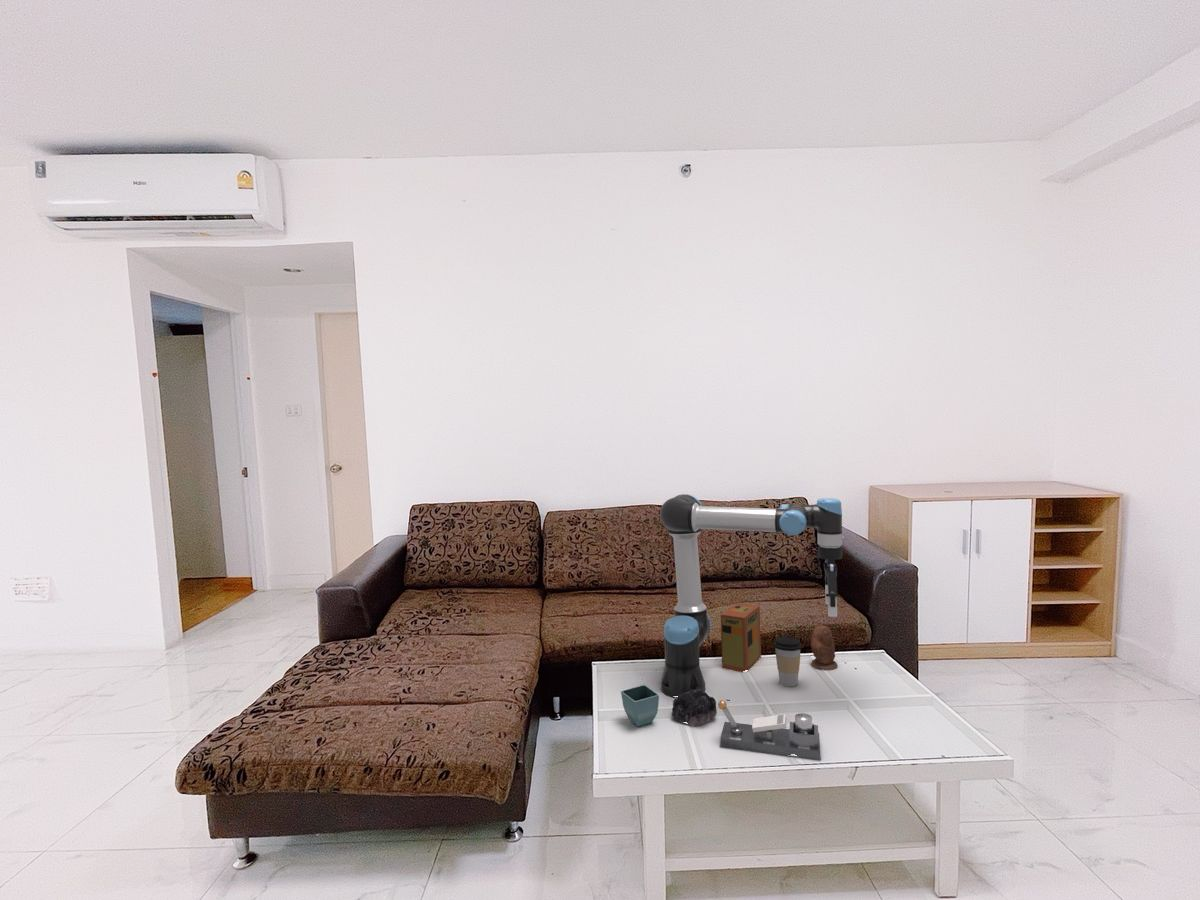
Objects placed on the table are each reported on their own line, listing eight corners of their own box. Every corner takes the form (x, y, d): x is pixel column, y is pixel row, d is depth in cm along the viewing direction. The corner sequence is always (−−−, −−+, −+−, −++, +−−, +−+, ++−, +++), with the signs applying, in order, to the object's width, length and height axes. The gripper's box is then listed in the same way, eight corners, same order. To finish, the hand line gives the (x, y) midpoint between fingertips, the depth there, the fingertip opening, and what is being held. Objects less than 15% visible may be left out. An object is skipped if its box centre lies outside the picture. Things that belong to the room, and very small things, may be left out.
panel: (720, 746, 166) (719, 727, 166) (724, 729, 176) (724, 711, 176) (820, 760, 158) (819, 740, 158) (819, 741, 167) (818, 722, 167)
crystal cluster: (670, 709, 191) (667, 679, 190) (713, 704, 191) (709, 675, 190) (675, 733, 178) (671, 701, 177) (720, 728, 178) (717, 696, 177)
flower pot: (635, 731, 176) (634, 701, 176) (621, 719, 184) (620, 690, 184) (660, 724, 180) (660, 694, 180) (645, 712, 188) (644, 684, 188)
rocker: (753, 732, 165) (751, 727, 165) (754, 722, 171) (753, 718, 171) (786, 727, 163) (784, 723, 163) (786, 718, 168) (785, 713, 168)
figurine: (810, 671, 217) (806, 629, 217) (811, 661, 226) (806, 621, 227) (837, 671, 213) (833, 629, 214) (837, 662, 223) (832, 621, 223)
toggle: (730, 729, 169) (715, 704, 170) (731, 725, 171) (717, 700, 172) (738, 726, 168) (723, 701, 169) (738, 722, 171) (724, 697, 172)
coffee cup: (799, 677, 210) (798, 635, 210) (806, 689, 201) (804, 645, 200) (771, 677, 211) (770, 635, 211) (777, 689, 202) (775, 645, 201)
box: (746, 673, 216) (744, 617, 215) (722, 668, 221) (720, 614, 220) (761, 657, 230) (759, 605, 229) (738, 653, 235) (736, 602, 234)
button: (795, 734, 162) (794, 719, 162) (795, 726, 167) (795, 712, 166) (812, 736, 161) (812, 721, 161) (812, 728, 165) (811, 714, 165)
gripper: (845, 553, 184) (847, 622, 184) (839, 539, 207) (840, 600, 208) (819, 553, 186) (821, 621, 186) (816, 538, 210) (817, 599, 210)
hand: (831, 610), depth 197 cm, fingers open, 13 cm apart
